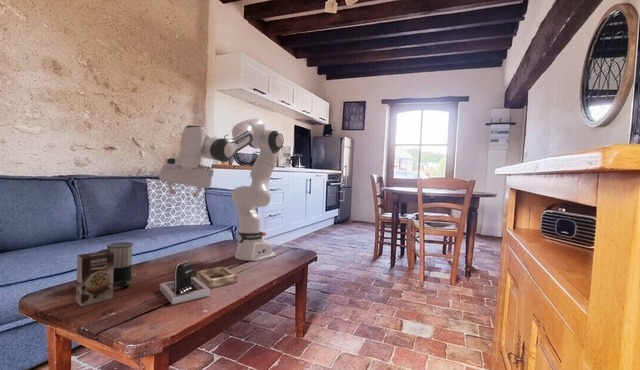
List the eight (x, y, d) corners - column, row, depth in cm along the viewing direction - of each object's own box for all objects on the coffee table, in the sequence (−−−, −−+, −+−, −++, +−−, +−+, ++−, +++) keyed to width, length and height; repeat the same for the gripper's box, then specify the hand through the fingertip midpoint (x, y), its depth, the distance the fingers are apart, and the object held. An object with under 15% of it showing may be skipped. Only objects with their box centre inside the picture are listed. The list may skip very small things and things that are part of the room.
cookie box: (81, 307, 96) (82, 258, 96) (75, 301, 100) (76, 254, 99) (113, 298, 103) (114, 253, 103) (106, 293, 107) (108, 249, 107)
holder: (194, 282, 121) (194, 276, 121) (209, 295, 109) (210, 289, 109) (159, 290, 113) (160, 283, 112) (172, 304, 101) (172, 297, 101)
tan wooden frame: (223, 272, 135) (223, 266, 135) (237, 282, 124) (237, 275, 124) (196, 278, 127) (196, 271, 127) (209, 288, 116) (209, 280, 116)
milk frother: (121, 275, 126) (122, 240, 126) (149, 280, 122) (150, 245, 121) (86, 286, 113) (87, 248, 113) (116, 293, 108) (117, 253, 108)
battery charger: (181, 297, 107) (182, 266, 107) (173, 295, 108) (174, 264, 108) (195, 290, 114) (196, 261, 113) (187, 288, 115) (188, 259, 115)
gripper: (215, 167, 128) (210, 198, 128) (166, 159, 125) (161, 191, 126) (212, 167, 122) (206, 199, 122) (160, 158, 119) (155, 192, 119)
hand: (183, 195), depth 124 cm, fingers open, 8 cm apart
